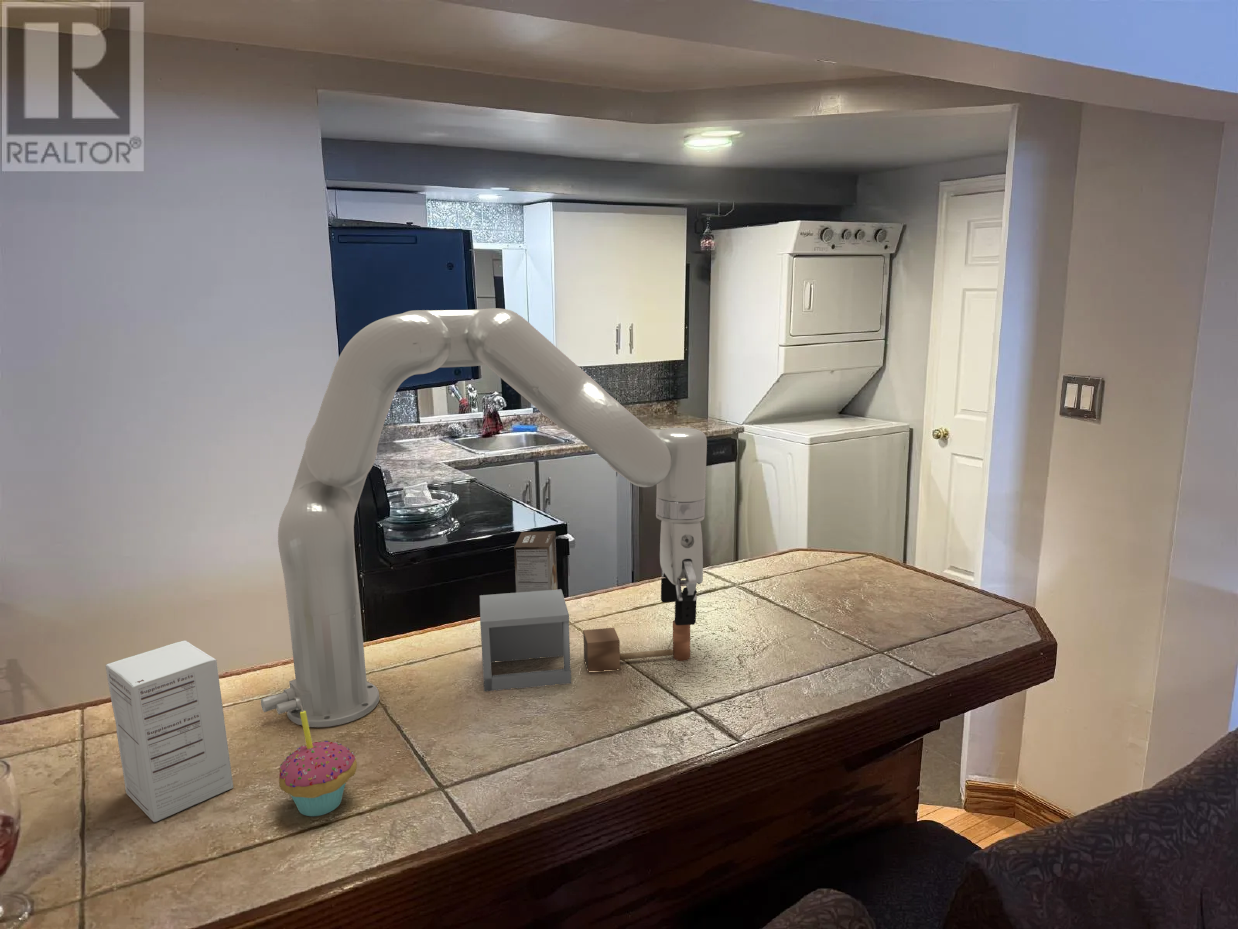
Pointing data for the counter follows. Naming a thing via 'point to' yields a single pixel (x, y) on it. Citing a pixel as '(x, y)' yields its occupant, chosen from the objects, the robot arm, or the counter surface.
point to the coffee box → (535, 561)
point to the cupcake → (316, 773)
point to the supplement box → (170, 728)
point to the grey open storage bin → (524, 636)
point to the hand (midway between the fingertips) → (677, 612)
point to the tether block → (606, 653)
